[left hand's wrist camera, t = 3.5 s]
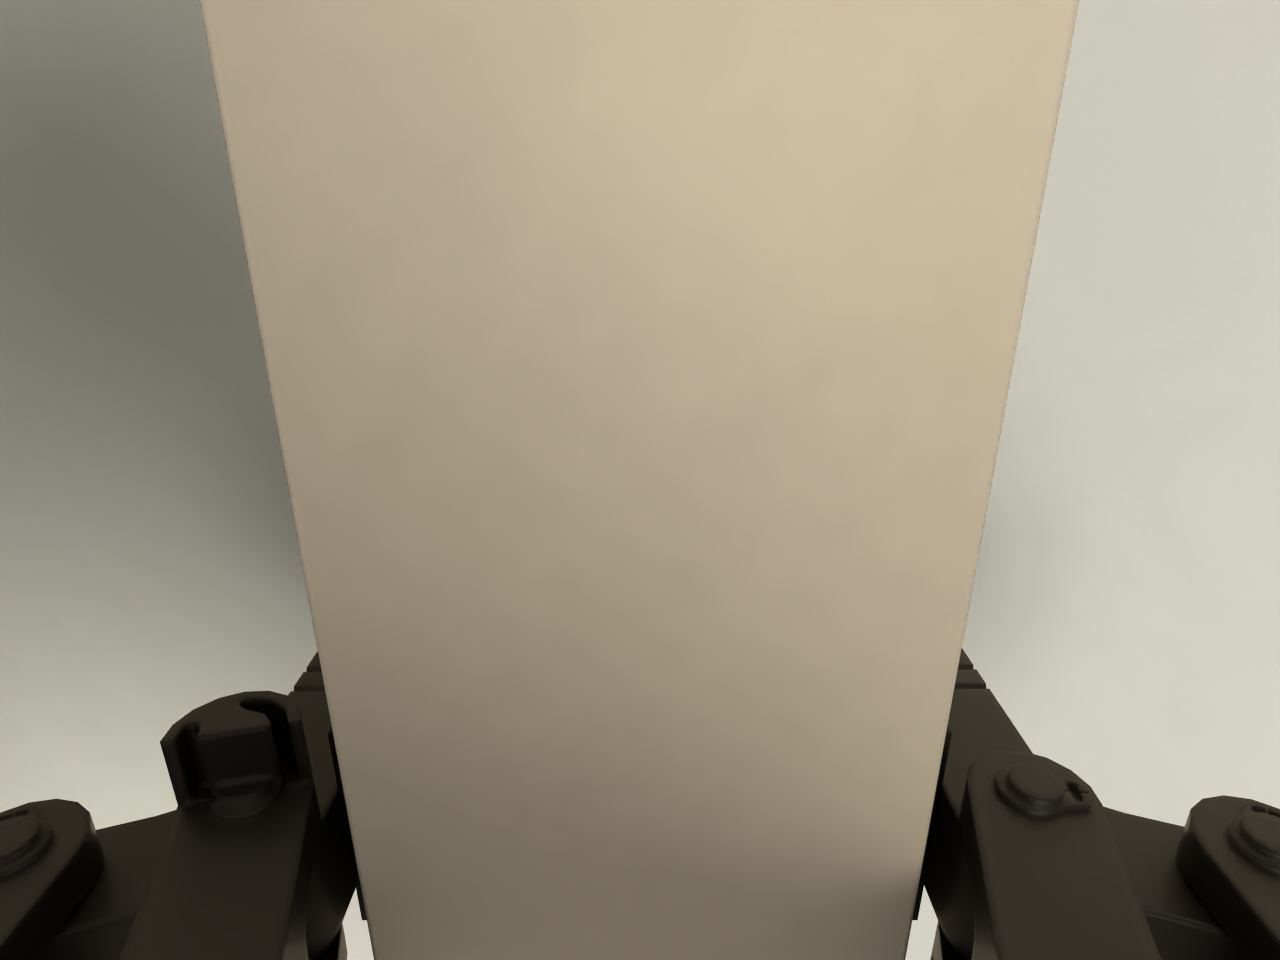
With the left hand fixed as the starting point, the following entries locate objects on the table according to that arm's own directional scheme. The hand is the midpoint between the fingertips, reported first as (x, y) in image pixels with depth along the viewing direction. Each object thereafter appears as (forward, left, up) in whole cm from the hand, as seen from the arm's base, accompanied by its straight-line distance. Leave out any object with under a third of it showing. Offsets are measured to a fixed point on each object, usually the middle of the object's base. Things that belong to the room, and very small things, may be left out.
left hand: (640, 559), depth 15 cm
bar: (-6, +18, -1) cm, 18 cm away
